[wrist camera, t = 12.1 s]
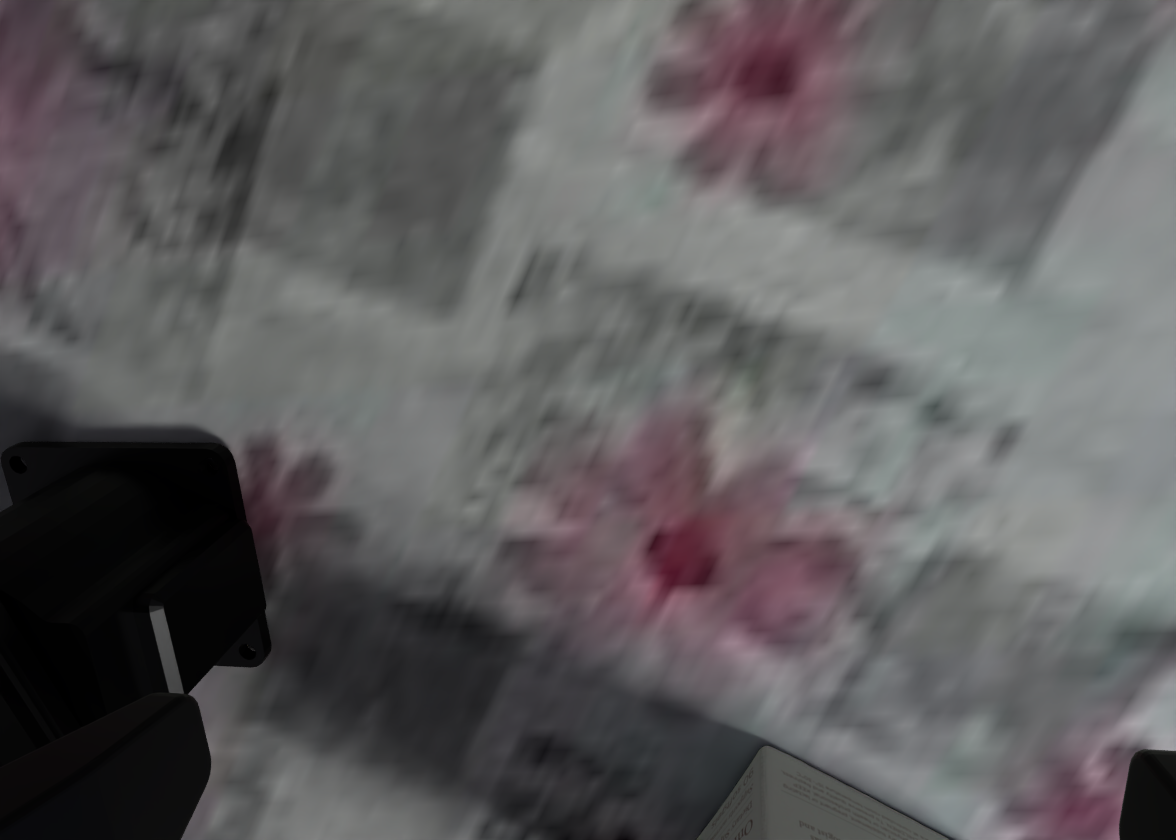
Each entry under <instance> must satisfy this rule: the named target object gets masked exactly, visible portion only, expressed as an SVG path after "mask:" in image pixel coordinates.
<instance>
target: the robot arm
mask: <svg viewBox="0 0 1176 840" xmlns="http://www.w3.org/2000/svg"><path fill="white" fill-rule="evenodd" d="M21 458H22V459H23V460H24V461H25V462H26V464H27V466H25V465H24V464H23V462H22V461H21ZM208 458H211V459H212V460H214V461H215V462H216V464H217V466H218V470H216V469H214V468H212V467H211V466H210V464H209V462H208ZM1 464H2V468H3V471H4V475H5V478H6V481H7V485H8V488H9V492H10V495H11V499H12V502H13V505H12V506H10V507H9V508H7V509H5V510H3V511H2V512H0V840H181V838H182V836H183V834H184V831H185V829H186V827H187V825H188V823H189V821H190V819H191V817H192V815H193V813H194V810H195V808H196V806H197V804H198V802H199V800H200V798H201V796H202V794H203V792H204V789H205V787H206V785H207V782H208V780H209V776H210V771H211V755H210V751H209V747H208V743H207V738H206V734H205V730H204V726H203V721H202V717H201V713H200V709H199V706H198V703H197V701H196V700H195V699H194V698H193V697H192V696H190V695H188V693H189V692H190V691H191V690H192V689H193V688H194V687H195V686H196V685H197V684H198V682H199V681H200V680H201V679H202V678H203V677H204V676H205V675H206V674H207V673H208V672H209V670H210V669H211V668H212V667H213V666H233V667H257V666H258V665H260V664H262V662H263V661H264V660H265V659H266V658H267V656H268V655H269V653H270V652H271V640H270V635H269V630H268V625H267V620H266V615H265V609H266V600H265V595H264V590H263V585H262V580H261V575H260V570H259V565H258V560H257V555H256V550H255V545H254V540H253V535H252V530H251V528H250V526H249V525H248V523H247V520H246V514H245V509H244V504H243V499H242V494H241V489H240V484H239V479H238V474H237V469H236V464H235V460H234V458H233V455H232V453H231V452H230V451H229V450H228V449H227V448H226V447H224V446H222V445H221V444H216V443H141V442H21V443H18V444H15V445H13V446H11V447H9V448H7V449H6V450H5V451H4V452H3V453H2V456H1ZM247 644H248V645H251V646H252V647H253V648H254V649H255V651H252V650H251V649H250V648H248V646H247ZM1119 835H1120V840H1176V751H1166V750H1148V749H1143V750H1140V751H1138V752H1136V753H1135V754H1134V756H1133V757H1132V759H1131V762H1130V766H1129V772H1128V777H1127V783H1126V788H1125V794H1124V800H1123V805H1122V811H1121V816H1120V823H1119Z"/></svg>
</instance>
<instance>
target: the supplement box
mask: <svg viewBox="0 0 1176 840" xmlns="http://www.w3.org/2000/svg"><path fill="white" fill-rule="evenodd" d="M696 840H949V839H948V838H946V837H944V836H942V835H940V834H938V833H936V832H934V831H933V830H931V829H929V828H927V827H925V826H923V825H921V824H919V823H918V822H916V821H914V820H912V819H911V818H909V817H907V816H905V815H903V814H901V813H899V812H897V811H895V810H893V809H891V808H889V807H887V806H885V805H883V804H882V803H880V802H878V801H876V800H874V799H873V798H871V797H869V796H867V795H865V794H863V793H861V792H859V791H857V790H855V789H853V788H851V787H849V786H847V785H845V784H843V783H842V782H840V781H838V780H836V779H834V778H833V777H831V776H829V775H827V774H825V773H823V772H821V771H819V770H817V769H815V768H813V767H811V766H809V765H807V764H805V763H804V762H802V761H800V760H798V759H796V758H794V757H792V756H790V755H788V754H786V753H783V752H781V751H779V750H777V749H775V748H773V747H770V746H764V747H762V748H761V749H760V750H759V751H758V753H757V754H756V756H755V757H754V759H753V761H752V762H751V764H750V765H749V767H748V768H747V770H746V771H745V773H744V774H743V776H742V777H741V779H740V780H739V782H738V783H737V785H736V786H735V787H734V789H733V790H732V792H731V793H730V795H729V796H728V797H727V799H726V800H725V802H724V803H723V804H722V806H721V807H720V809H719V810H718V812H717V813H716V814H715V816H714V817H713V818H712V820H711V821H710V822H709V824H708V825H707V826H706V828H705V829H704V830H703V832H702V833H701V834H700V835H699V837H698V838H697V839H696Z"/></svg>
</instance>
